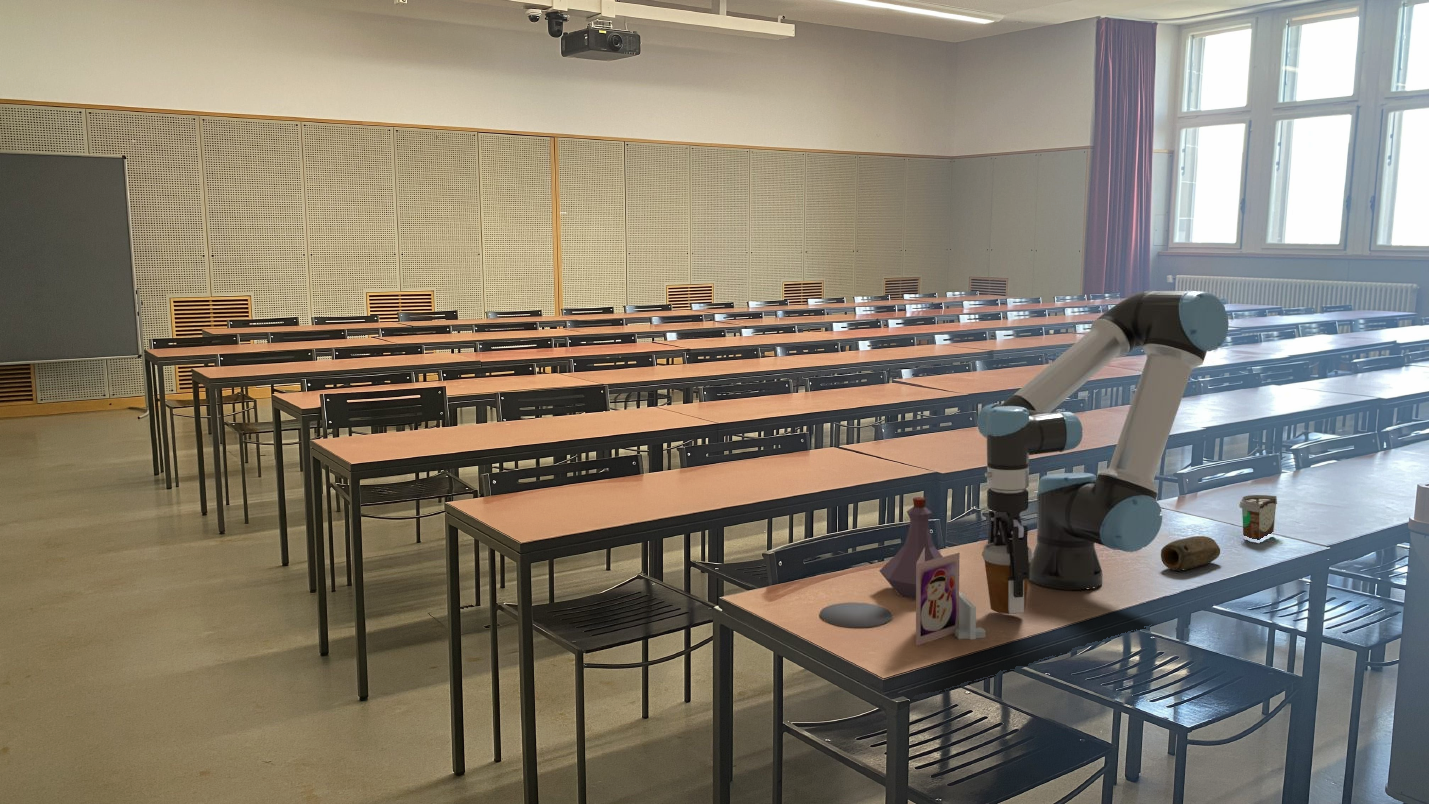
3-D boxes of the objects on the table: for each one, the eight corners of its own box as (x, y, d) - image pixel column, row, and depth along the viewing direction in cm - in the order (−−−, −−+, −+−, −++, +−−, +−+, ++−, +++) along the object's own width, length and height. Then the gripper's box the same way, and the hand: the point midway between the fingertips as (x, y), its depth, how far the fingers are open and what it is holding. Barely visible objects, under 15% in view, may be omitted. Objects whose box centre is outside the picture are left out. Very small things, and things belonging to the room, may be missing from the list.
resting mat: (882, 602, 201) (882, 600, 201) (900, 626, 188) (900, 624, 188) (813, 605, 200) (813, 604, 200) (827, 629, 187) (827, 628, 186)
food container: (1248, 531, 250) (1250, 492, 249) (1275, 535, 246) (1277, 495, 245) (1229, 540, 242) (1231, 500, 241) (1256, 545, 237) (1258, 504, 236)
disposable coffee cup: (972, 609, 191) (972, 549, 190) (998, 597, 198) (997, 538, 196) (1017, 620, 184) (1017, 558, 183) (1042, 607, 191) (1043, 546, 190)
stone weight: (1188, 577, 214) (1190, 546, 213) (1157, 570, 220) (1158, 540, 219) (1222, 563, 223) (1223, 534, 222) (1191, 557, 229) (1193, 529, 228)
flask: (862, 589, 210) (862, 496, 208) (921, 576, 218) (922, 487, 216) (915, 610, 196) (916, 511, 194) (976, 596, 204) (977, 500, 202)
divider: (956, 608, 197) (956, 578, 196) (986, 638, 180) (986, 606, 179) (931, 609, 197) (931, 579, 196) (959, 639, 180) (959, 607, 179)
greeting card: (919, 647, 177) (920, 565, 175) (889, 635, 183) (889, 556, 181) (962, 632, 183) (963, 553, 182) (931, 622, 189) (932, 545, 188)
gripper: (969, 478, 198) (970, 589, 201) (1008, 502, 178) (1008, 624, 180) (1006, 476, 199) (1006, 586, 202) (1049, 499, 178) (1049, 622, 181)
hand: (1007, 604), depth 191 cm, fingers closed on disposable coffee cup, 8 cm apart
